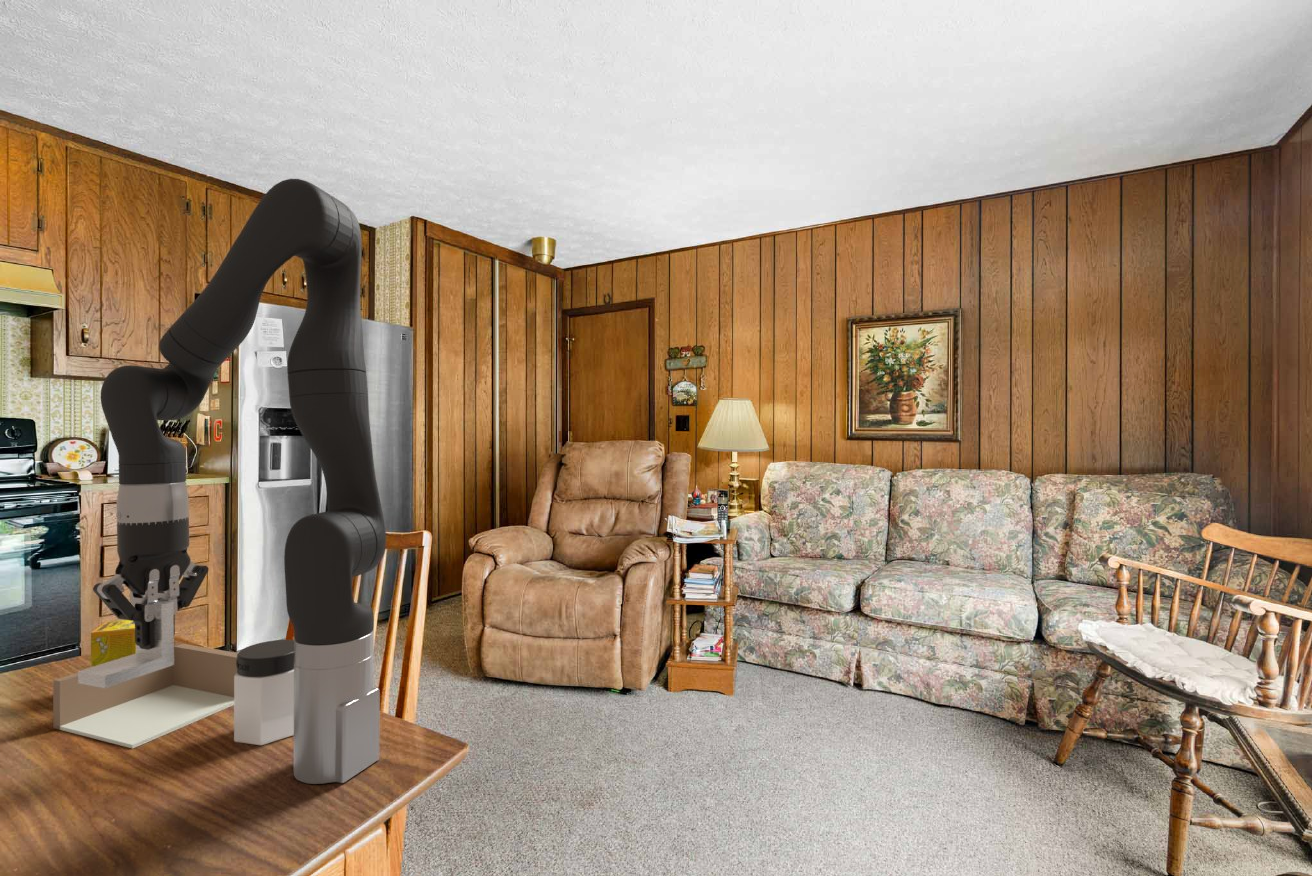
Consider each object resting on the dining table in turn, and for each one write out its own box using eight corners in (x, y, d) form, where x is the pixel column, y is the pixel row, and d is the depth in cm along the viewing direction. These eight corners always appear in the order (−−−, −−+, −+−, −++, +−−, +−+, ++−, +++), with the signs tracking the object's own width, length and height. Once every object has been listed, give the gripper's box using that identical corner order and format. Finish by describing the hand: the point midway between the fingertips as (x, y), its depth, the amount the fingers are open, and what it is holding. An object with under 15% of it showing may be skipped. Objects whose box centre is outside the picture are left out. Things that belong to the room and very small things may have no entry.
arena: (249, 698, 101) (250, 655, 101) (132, 748, 85) (132, 697, 85) (176, 683, 106) (176, 642, 106) (53, 728, 90) (53, 680, 90)
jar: (248, 720, 93) (248, 641, 93) (309, 714, 95) (309, 636, 95) (226, 750, 84) (226, 662, 84) (293, 742, 87) (294, 656, 87)
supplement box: (103, 686, 105) (103, 621, 105) (148, 680, 107) (148, 617, 107) (89, 700, 99) (89, 632, 99) (136, 693, 102) (136, 627, 102)
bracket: (148, 660, 85) (147, 598, 85) (174, 664, 83) (173, 601, 83) (78, 683, 77) (77, 615, 77) (105, 688, 76) (104, 618, 76)
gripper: (114, 525, 76) (116, 667, 76) (223, 511, 88) (225, 632, 89) (74, 522, 78) (76, 660, 78) (186, 509, 91) (188, 628, 91)
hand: (155, 645), depth 83 cm, fingers closed on bracket, 1 cm apart
